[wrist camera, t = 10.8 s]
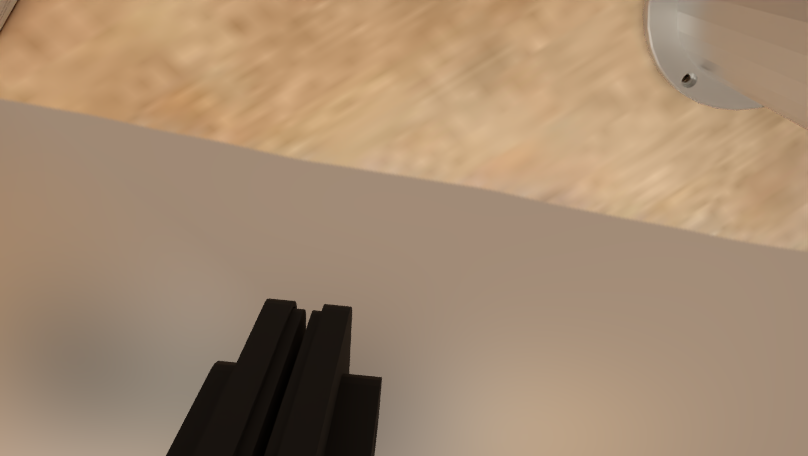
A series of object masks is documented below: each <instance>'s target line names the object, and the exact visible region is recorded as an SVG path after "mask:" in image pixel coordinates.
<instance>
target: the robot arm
mask: <svg viewBox="0 0 808 456" xmlns="http://www.w3.org/2000/svg"><path fill="white" fill-rule="evenodd" d="M643 25H644V36H645V40H646V44H647V47H648V51H649V55H650V56H651V58H652V60H653V62H654V64H655V66H656V68H657V70H658V71H659V72H660V74H661V75H662V76H663V77H664V78H665V79H666V81H667V82H668V83H669V84H670V85H671V86H672V87H674V88H675V89H676V90H678V91H679V92H680V93H682V94H683V95H685V96H687V97H689V98H690V99H692V100H694V101H696V102H698V103H700V104H703V105H707V106H710V107H713V108H717V109H727V110H748V109H758V108H762V107H766V108H768V109H770V110H772V111H774V112H776V113H777V114H779V115H781V116H783V117H785V118H786V119H788V120H790V121H792V122H794V123H796V124H797V125H799V126H801V127H803V128H805V129H807V130H808V0H645V1H644V9H643ZM686 74H688V77H687V79H686V80H685V81H682V79H683V77H684V76H685V75H686ZM351 323H352V307H348V306H338V305H328V304H324V306H323V309H322V311H315V310H313V311H312V314H311V316H310V319H309V322H308V325H307V328H306V311H305V310H304V309H297V305H296V302H295V301H287V300H278V299H267V300H266V301H265V303H264V305H263V308H262V310H261V312H260V314H259V316H258V318H257V320H256V322H255V325H254V327H253V329H252V331H251V333H250V335H249V338H248V340H247V342H246V344H245V346H244V348H243V350H242V352H241V354H240V357H239V359H238V361H237V363H234V362H224V361H217V362H216V363H215V364H214V365H213V367H212V369H211V370H210V372H209V374H208V376H207V378H206V380H205V382H204V384H203V385H202V388H201V390H200V392H199V393H198V395H197V397H196V399H195V401H194V403H193V405H192V407H191V409H190V411H189V412H188V414H187V416H186V418H185V420H184V422H183V424H182V426H181V428H180V430H179V432H178V434H177V436H176V437H175V439H174V441H173V443H172V445H171V447H170V449H169V451H168V453H167V455H166V456H374V453H375V446H376V437H377V428H378V418H379V407H380V395H381V382H382V377H373V376H362V375H352V374H349V366H350V344H351Z"/></svg>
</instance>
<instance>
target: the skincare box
mask: <svg viewBox="0 0 808 456" xmlns="http://www.w3.org/2000/svg"><path fill="white" fill-rule="evenodd" d="M16 2H17V0H0V30H1V28H2V26H3V25H4V23H5V21H6V19H7V18H8V16H9V14H10V12H11V11H12V9H13V7H14V5H15V3H16Z"/></svg>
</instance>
